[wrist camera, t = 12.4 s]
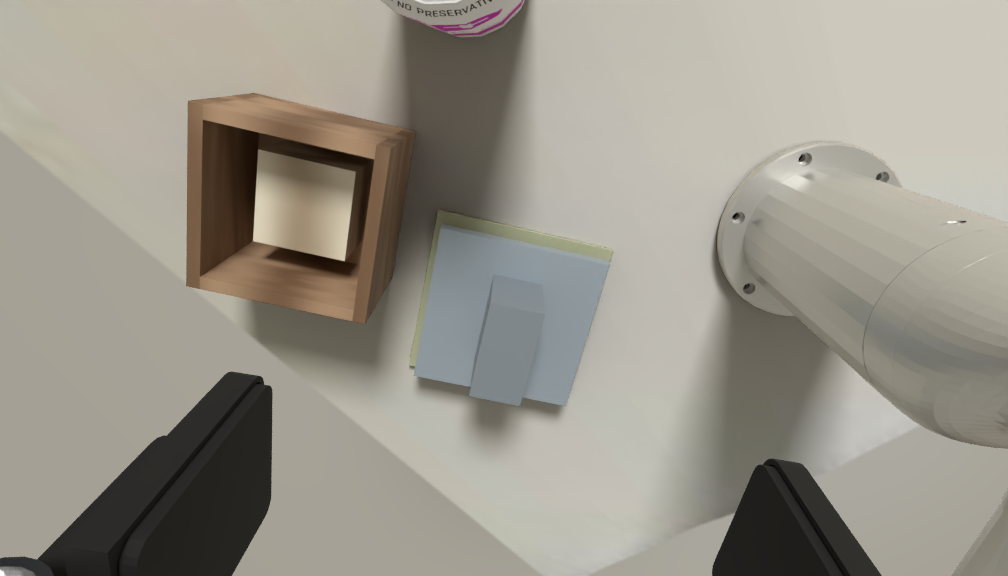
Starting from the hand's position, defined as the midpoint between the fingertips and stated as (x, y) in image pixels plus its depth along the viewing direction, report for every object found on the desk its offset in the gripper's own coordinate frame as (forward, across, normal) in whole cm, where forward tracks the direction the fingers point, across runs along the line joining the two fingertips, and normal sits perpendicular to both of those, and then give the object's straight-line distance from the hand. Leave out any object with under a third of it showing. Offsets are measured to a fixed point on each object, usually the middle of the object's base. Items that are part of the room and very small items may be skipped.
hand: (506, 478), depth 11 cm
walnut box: (+30, +13, +3) cm, 33 cm away
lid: (+30, -1, +10) cm, 32 cm away
